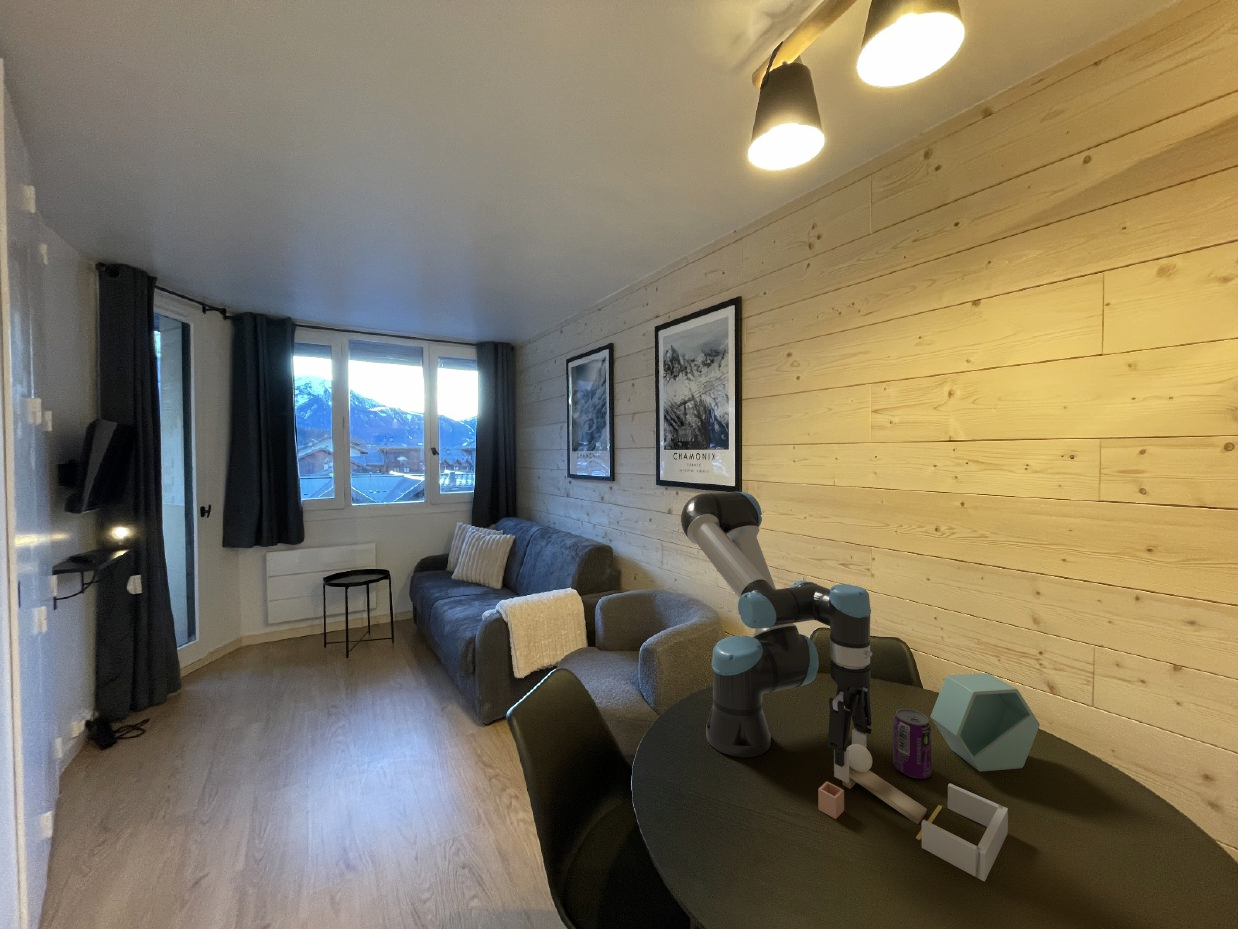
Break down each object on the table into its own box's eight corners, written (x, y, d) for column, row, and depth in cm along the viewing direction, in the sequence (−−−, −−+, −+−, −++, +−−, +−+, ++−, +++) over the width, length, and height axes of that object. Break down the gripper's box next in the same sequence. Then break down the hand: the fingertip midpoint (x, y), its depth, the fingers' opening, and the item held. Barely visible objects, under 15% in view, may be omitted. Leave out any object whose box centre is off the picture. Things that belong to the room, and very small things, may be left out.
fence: (921, 847, 85) (921, 822, 85) (949, 806, 94) (949, 783, 94) (984, 882, 78) (984, 854, 78) (1007, 833, 88) (1007, 808, 87)
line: (915, 838, 87) (915, 837, 87) (938, 805, 94) (938, 805, 94) (919, 840, 86) (919, 839, 86) (942, 807, 94) (942, 806, 94)
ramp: (839, 784, 101) (839, 764, 101) (848, 776, 104) (848, 756, 104) (919, 825, 90) (919, 803, 90) (927, 815, 92) (926, 793, 92)
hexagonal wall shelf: (992, 791, 104) (943, 716, 103) (963, 768, 112) (917, 697, 111) (1053, 744, 105) (1005, 669, 104) (1020, 724, 113) (975, 653, 112)
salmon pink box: (818, 809, 94) (818, 789, 94) (827, 801, 96) (826, 781, 96) (835, 819, 91) (835, 798, 91) (844, 810, 94) (844, 790, 94)
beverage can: (937, 783, 101) (937, 726, 100) (900, 779, 102) (899, 723, 102) (923, 762, 108) (923, 708, 107) (888, 758, 109) (888, 706, 109)
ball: (856, 781, 98) (871, 768, 96) (836, 757, 101) (850, 744, 99) (866, 771, 101) (881, 758, 99) (846, 748, 104) (861, 735, 102)
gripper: (845, 684, 91) (846, 803, 92) (889, 653, 104) (889, 758, 105) (808, 670, 97) (808, 783, 98) (853, 643, 110) (854, 743, 111)
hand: (850, 770), depth 101 cm, fingers open, 7 cm apart
